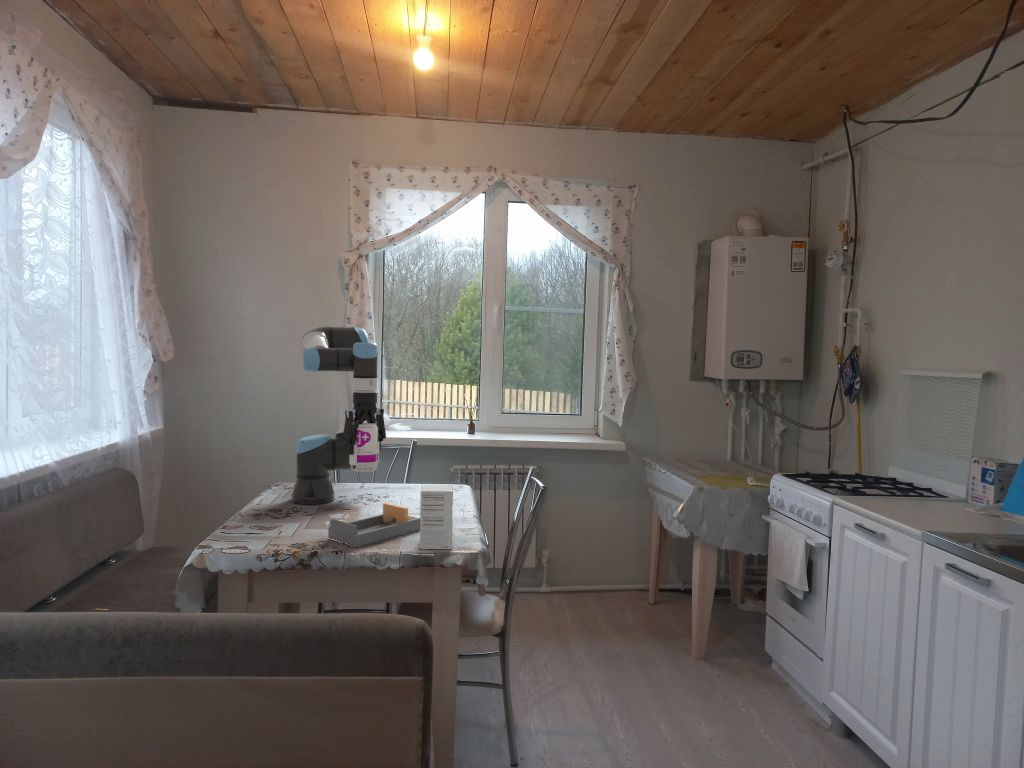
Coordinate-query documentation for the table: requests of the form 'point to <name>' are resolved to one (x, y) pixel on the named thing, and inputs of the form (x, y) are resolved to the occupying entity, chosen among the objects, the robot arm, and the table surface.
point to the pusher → (394, 514)
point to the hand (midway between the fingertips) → (364, 463)
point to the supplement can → (366, 448)
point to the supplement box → (436, 516)
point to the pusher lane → (370, 530)
